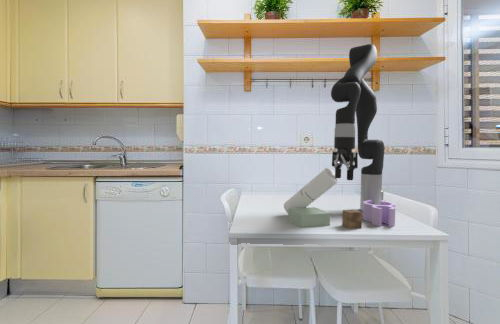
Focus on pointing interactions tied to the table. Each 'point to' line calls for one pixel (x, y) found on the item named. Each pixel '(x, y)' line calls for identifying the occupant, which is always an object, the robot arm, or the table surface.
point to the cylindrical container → (312, 190)
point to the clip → (379, 213)
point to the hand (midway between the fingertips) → (343, 179)
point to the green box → (309, 217)
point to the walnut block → (352, 219)
